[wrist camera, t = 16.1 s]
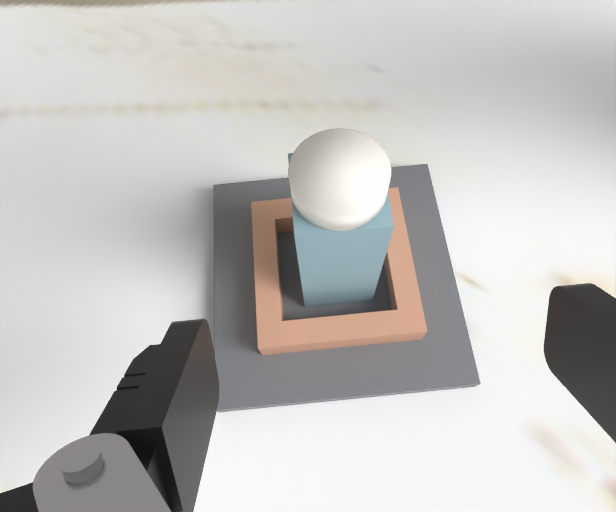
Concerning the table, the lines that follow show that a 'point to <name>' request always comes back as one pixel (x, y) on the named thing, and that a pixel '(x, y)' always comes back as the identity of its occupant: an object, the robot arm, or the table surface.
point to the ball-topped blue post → (340, 215)
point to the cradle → (333, 306)
